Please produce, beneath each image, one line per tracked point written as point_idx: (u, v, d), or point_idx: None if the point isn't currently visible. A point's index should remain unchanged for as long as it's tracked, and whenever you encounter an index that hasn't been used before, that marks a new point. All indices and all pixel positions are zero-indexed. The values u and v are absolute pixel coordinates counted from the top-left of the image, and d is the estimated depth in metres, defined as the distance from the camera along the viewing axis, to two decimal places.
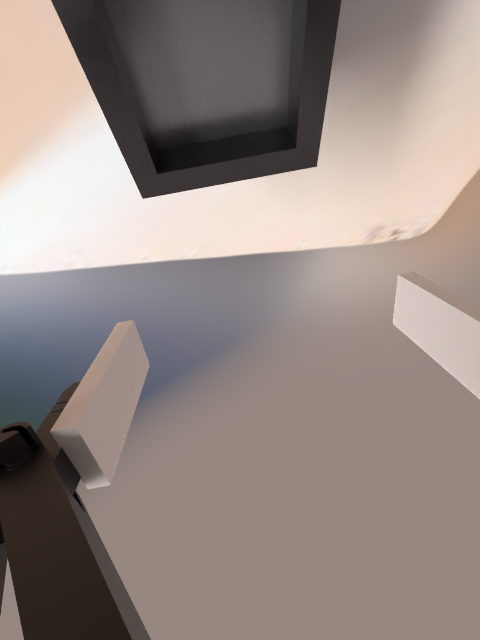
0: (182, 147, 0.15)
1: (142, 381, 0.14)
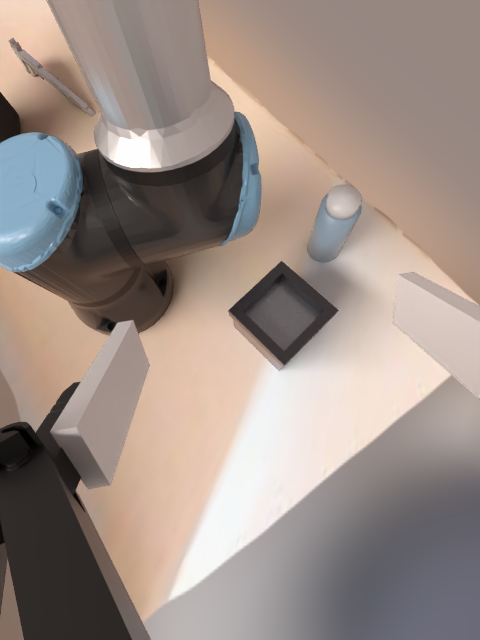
0: (290, 345, 0.36)
1: (142, 381, 0.14)
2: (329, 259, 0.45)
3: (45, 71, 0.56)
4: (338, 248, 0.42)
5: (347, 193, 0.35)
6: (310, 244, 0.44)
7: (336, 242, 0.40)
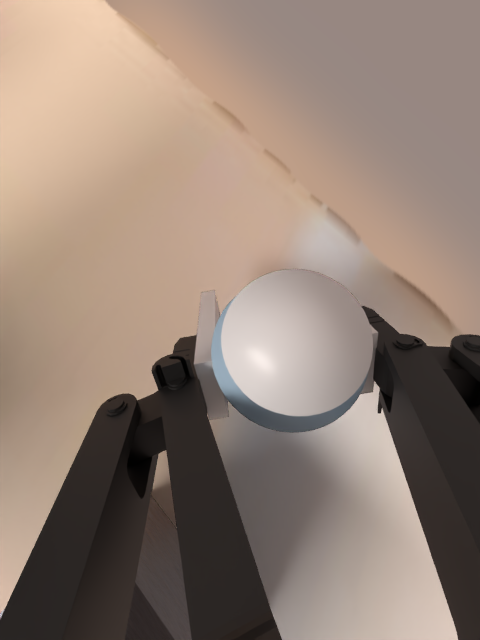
0: None
1: None
2: None
3: None
4: None
5: (311, 311, 0.08)
6: None
7: None
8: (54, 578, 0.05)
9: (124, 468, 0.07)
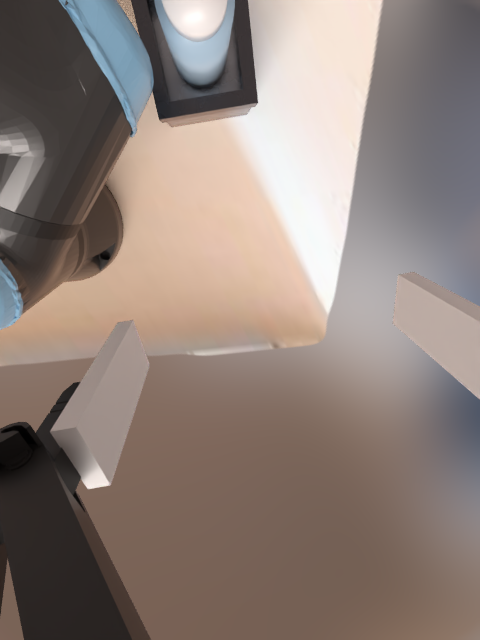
0: (239, 76, 0.28)
1: (142, 381, 0.14)
2: (225, 64, 0.27)
3: None
4: None
5: None
6: (190, 79, 0.26)
7: (226, 49, 0.23)
8: None
9: None
